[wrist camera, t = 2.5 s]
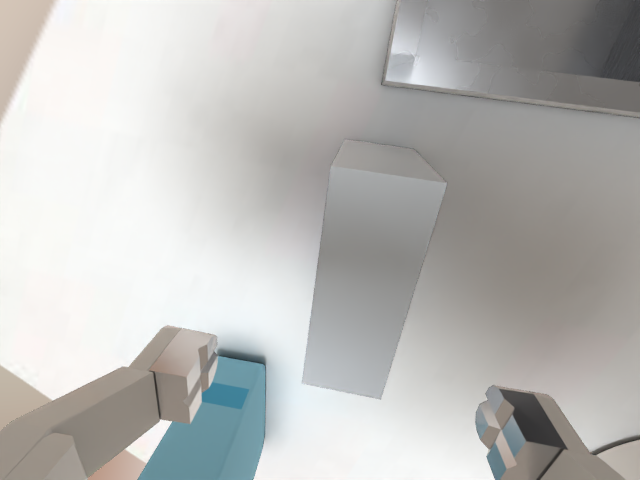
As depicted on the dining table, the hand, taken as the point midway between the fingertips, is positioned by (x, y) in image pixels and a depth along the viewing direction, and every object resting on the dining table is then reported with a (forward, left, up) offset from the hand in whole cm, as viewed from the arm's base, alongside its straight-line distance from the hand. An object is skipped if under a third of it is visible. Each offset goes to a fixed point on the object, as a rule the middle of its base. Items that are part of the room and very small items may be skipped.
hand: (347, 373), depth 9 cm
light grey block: (0, 0, -12) cm, 12 cm away
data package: (+8, +19, -12) cm, 24 cm away
